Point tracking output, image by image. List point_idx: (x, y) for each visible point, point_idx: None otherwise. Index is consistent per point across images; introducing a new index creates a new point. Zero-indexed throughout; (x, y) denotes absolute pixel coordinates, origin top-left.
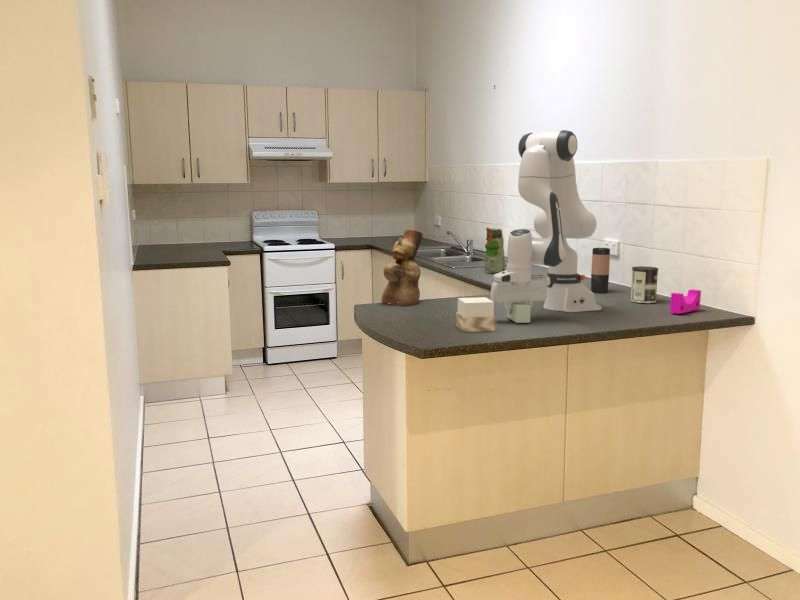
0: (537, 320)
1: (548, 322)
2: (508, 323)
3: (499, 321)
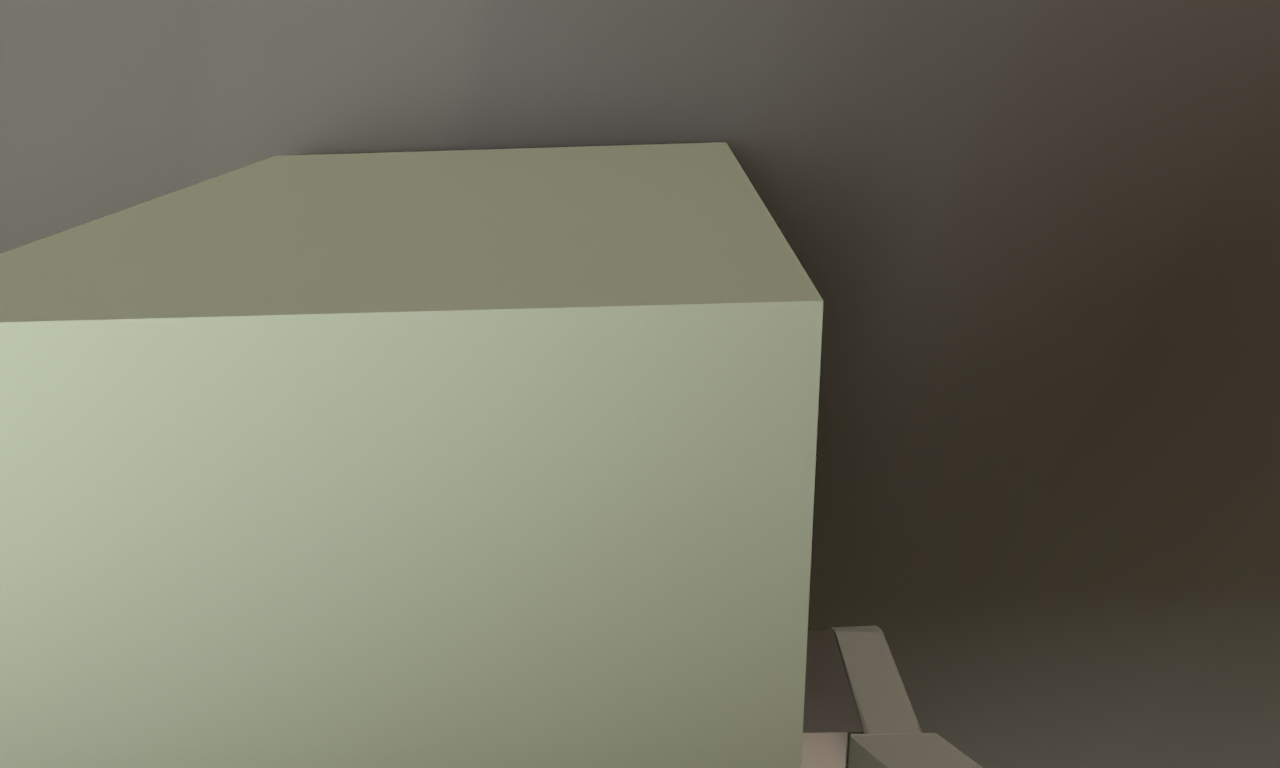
0: (1062, 535)
1: (1195, 759)
2: None
3: None
